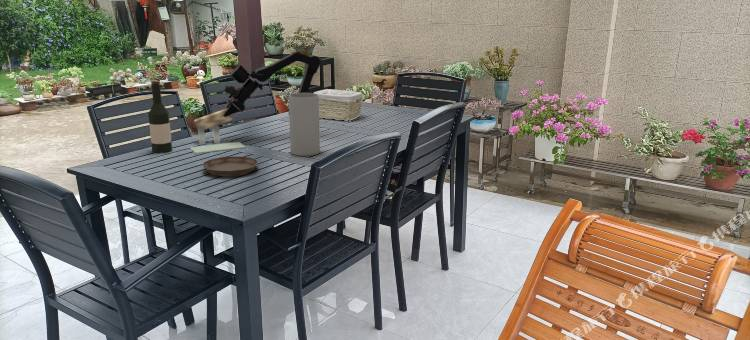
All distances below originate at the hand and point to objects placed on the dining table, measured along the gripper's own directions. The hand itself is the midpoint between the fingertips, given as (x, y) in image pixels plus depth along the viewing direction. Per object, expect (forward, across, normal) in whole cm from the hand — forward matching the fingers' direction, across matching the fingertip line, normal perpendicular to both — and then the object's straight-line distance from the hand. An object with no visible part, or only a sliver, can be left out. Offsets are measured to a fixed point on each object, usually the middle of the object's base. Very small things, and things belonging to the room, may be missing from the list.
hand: (223, 115), depth 255 cm
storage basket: (-37, -35, +55) cm, 75 cm away
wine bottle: (+28, +10, -11) cm, 32 cm away
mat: (+12, +12, +5) cm, 18 cm away
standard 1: (+16, -1, +1) cm, 16 cm away
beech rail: (+6, 0, 0) cm, 6 cm away
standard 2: (+11, -1, +6) cm, 13 cm away
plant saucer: (+11, +48, +7) cm, 49 cm away
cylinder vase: (-13, +31, +30) cm, 45 cm away
